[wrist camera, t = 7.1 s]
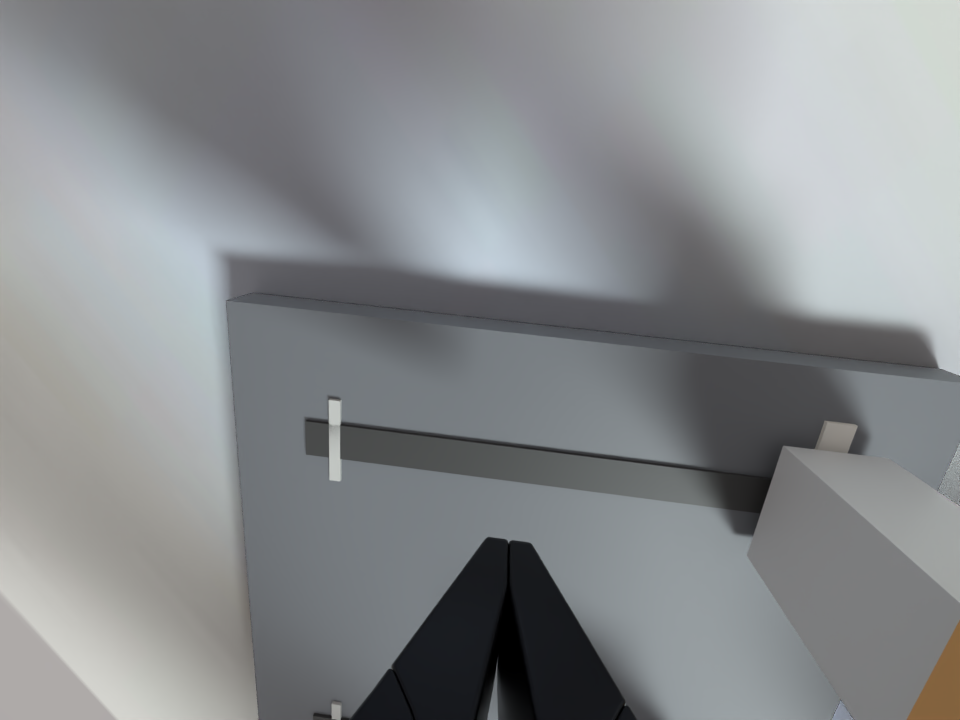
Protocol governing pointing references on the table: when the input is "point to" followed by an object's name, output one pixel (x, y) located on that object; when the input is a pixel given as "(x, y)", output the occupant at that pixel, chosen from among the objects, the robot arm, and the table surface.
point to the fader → (867, 579)
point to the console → (539, 492)
